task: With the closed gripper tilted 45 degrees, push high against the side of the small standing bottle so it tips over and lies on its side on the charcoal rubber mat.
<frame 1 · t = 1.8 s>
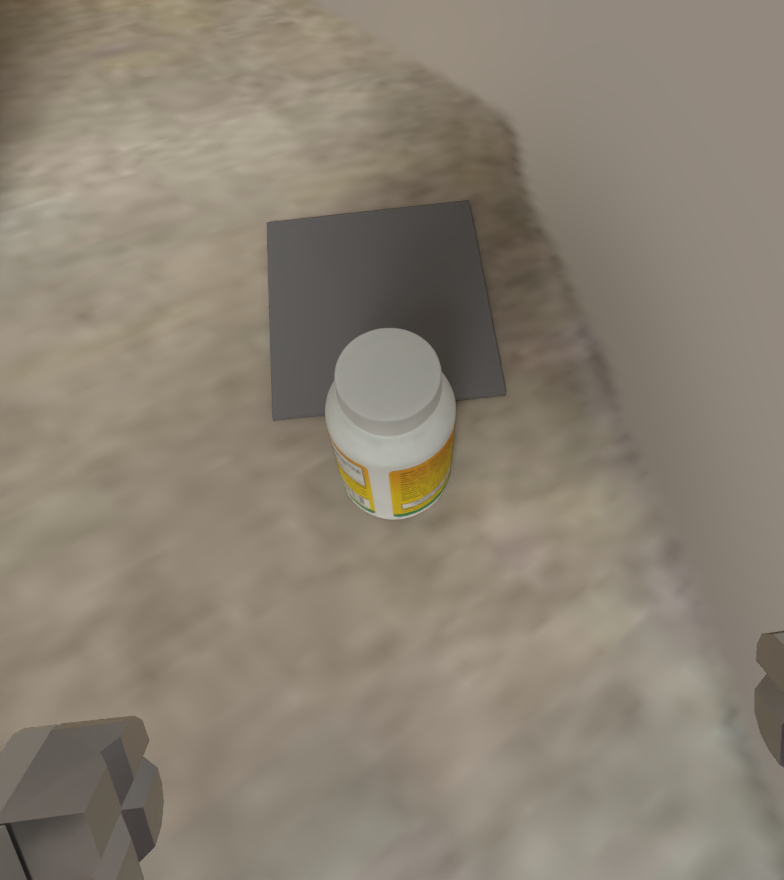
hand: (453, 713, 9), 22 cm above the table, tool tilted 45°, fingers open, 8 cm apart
supplement bottle: (396, 472, 34), on the table
rubber mat: (378, 304, 38), on the table
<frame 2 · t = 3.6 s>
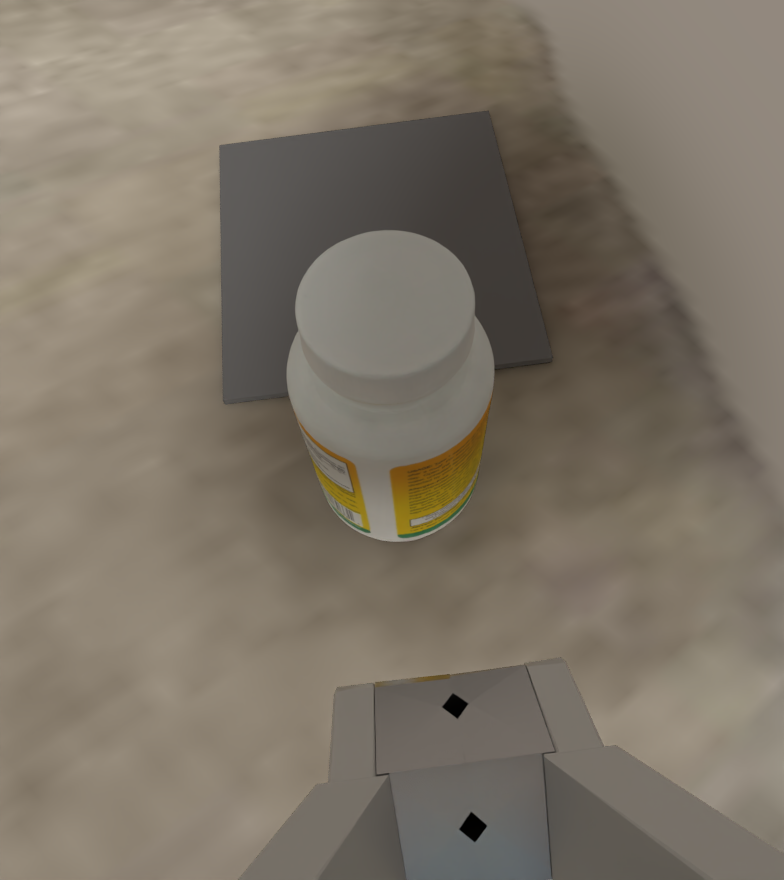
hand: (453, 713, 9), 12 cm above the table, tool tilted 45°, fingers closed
supplement bottle: (400, 473, 24), on the table
rubber mat: (369, 245, 28), on the table
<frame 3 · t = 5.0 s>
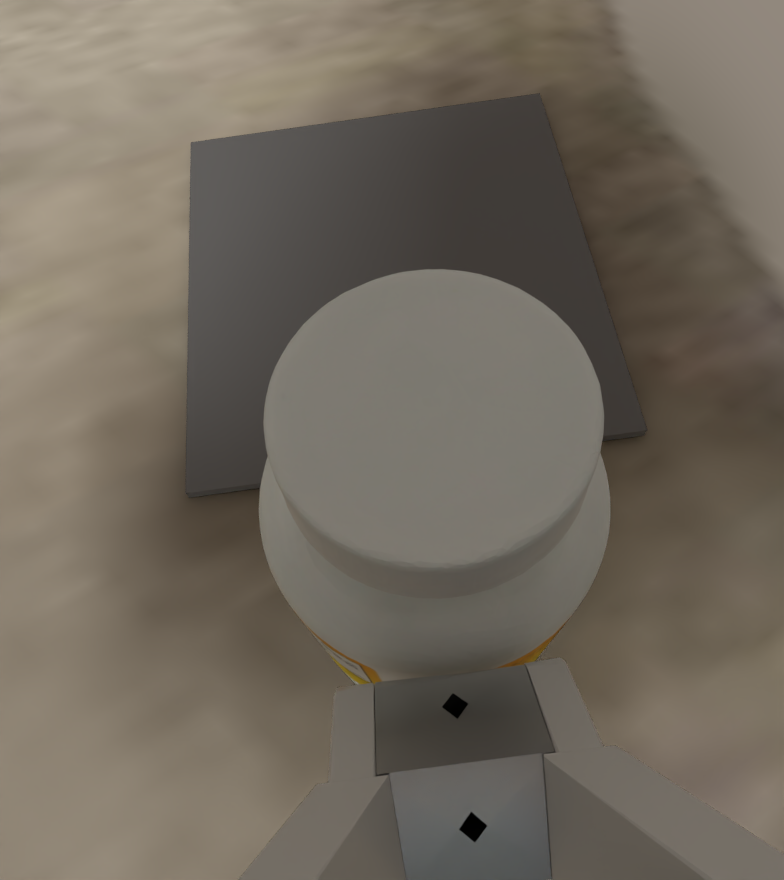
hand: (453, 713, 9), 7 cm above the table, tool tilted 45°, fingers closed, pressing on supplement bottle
supplement bottle: (435, 601, 17), on the table, touching gripper
rubber mat: (387, 272, 21), on the table
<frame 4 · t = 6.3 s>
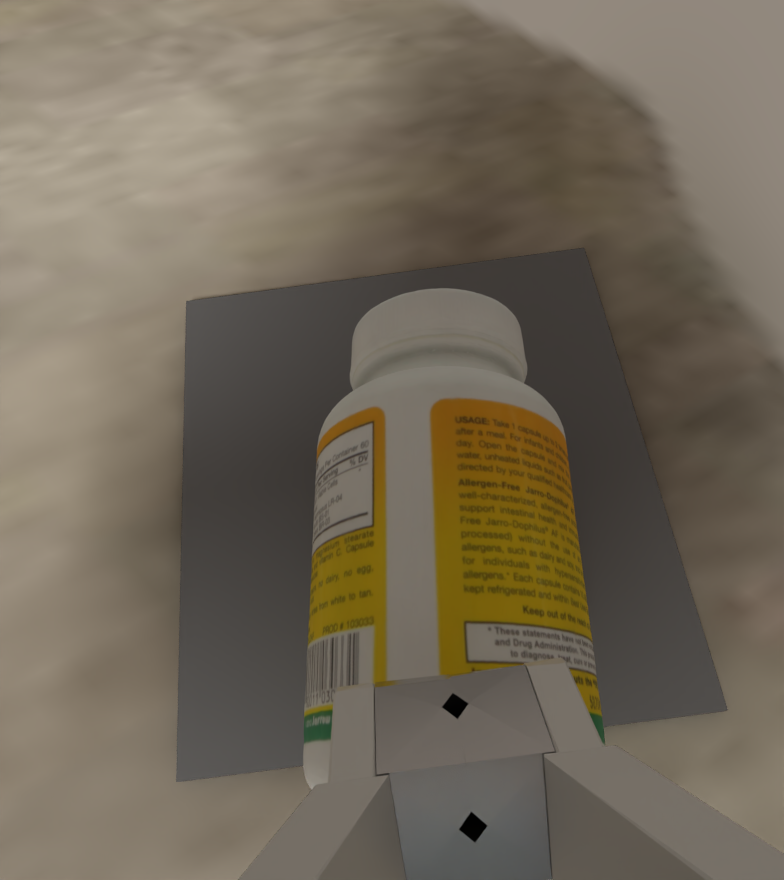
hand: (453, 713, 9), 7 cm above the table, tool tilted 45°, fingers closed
supplement bottle: (457, 806, 12), point 3 cm above the table, touching rubber mat
rubber mat: (413, 476, 18), on the table
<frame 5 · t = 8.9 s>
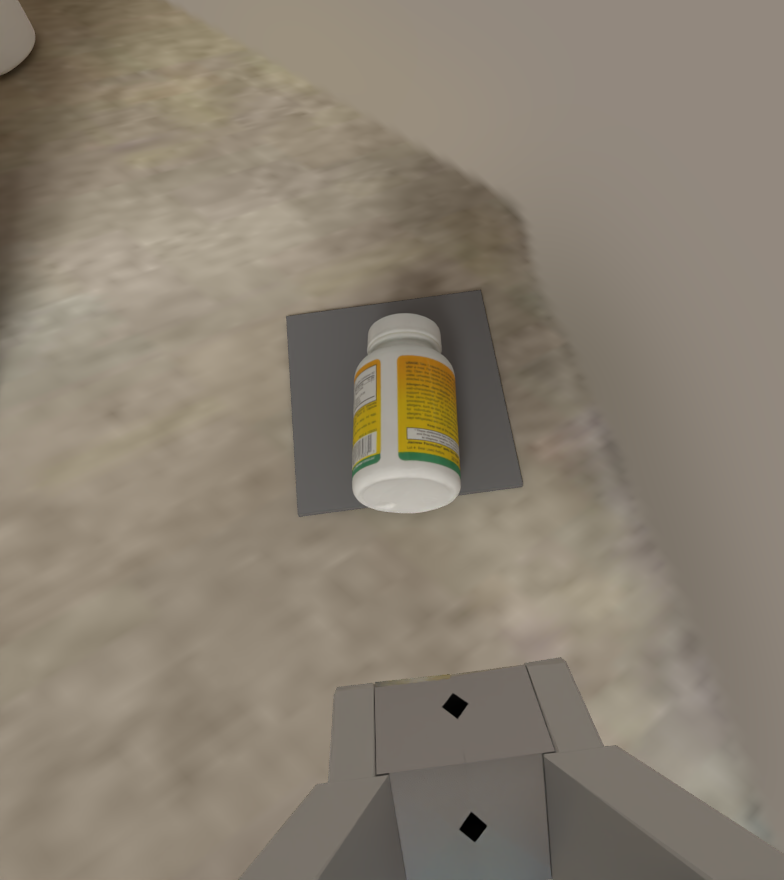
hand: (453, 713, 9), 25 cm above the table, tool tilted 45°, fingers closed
supplement bottle: (407, 500, 34), point 3 cm above the table, touching rubber mat
rubber mat: (396, 396, 40), on the table
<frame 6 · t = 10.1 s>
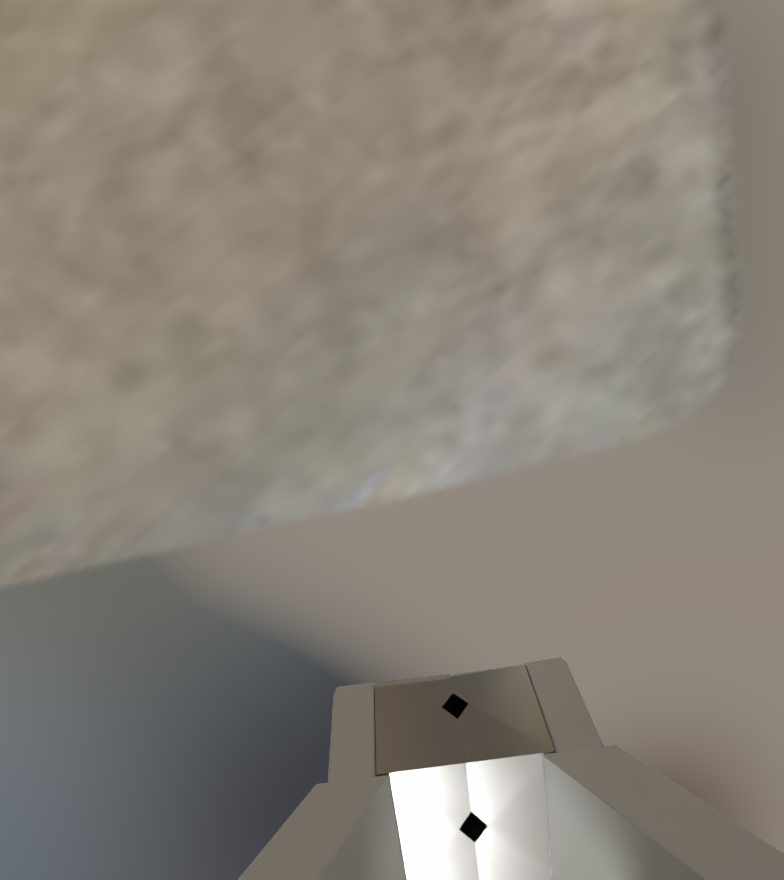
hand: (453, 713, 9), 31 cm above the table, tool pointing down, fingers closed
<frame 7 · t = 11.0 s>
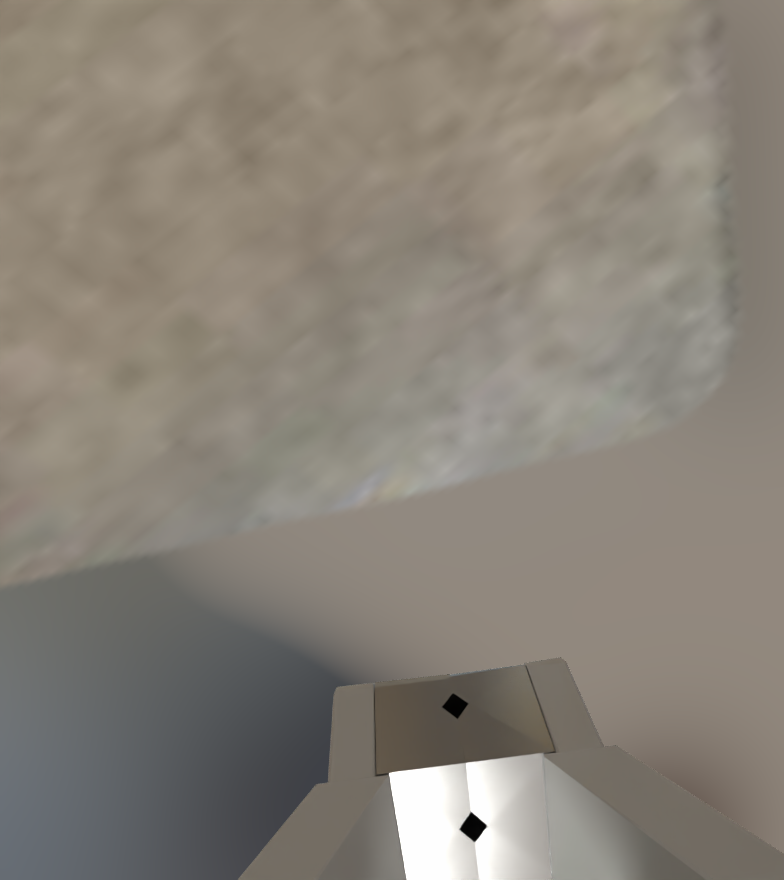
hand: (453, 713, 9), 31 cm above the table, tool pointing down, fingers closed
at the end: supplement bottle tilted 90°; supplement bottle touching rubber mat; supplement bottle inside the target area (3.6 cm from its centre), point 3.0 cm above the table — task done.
